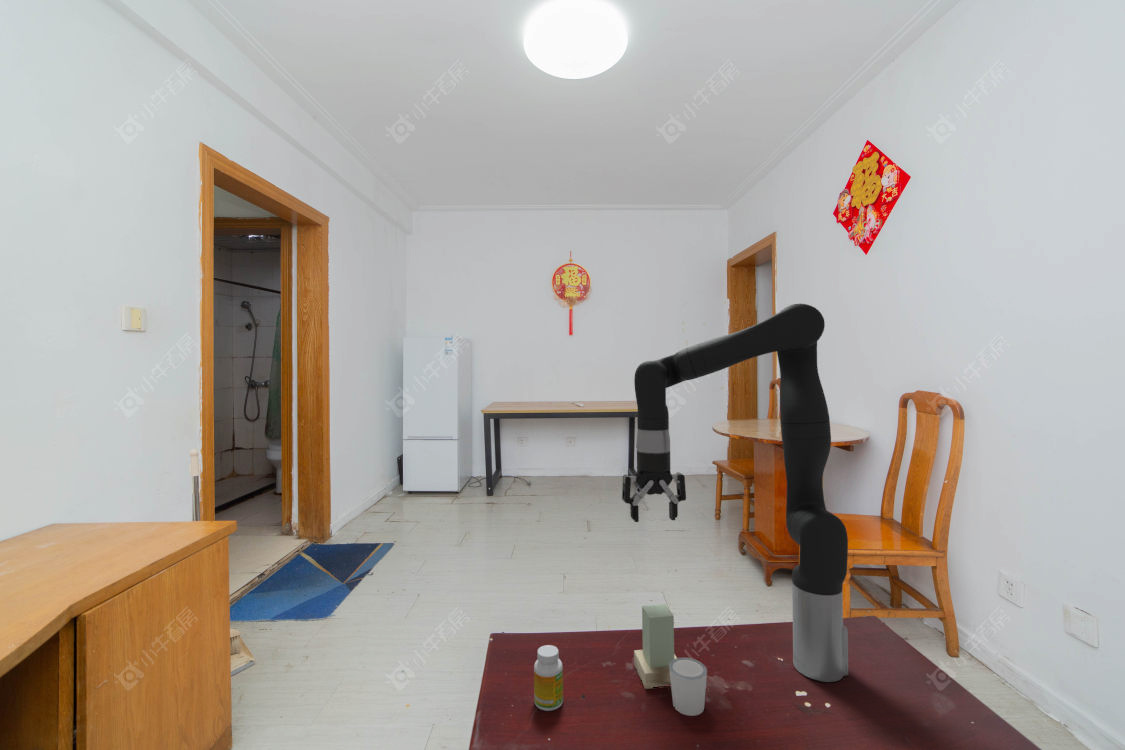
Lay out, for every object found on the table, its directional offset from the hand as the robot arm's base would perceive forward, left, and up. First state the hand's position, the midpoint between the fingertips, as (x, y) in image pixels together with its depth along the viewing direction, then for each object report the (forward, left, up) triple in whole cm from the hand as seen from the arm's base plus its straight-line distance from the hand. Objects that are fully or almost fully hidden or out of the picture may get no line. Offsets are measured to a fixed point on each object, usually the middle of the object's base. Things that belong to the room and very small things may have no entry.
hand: (654, 520), depth 111 cm
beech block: (+3, +11, -28) cm, 30 cm away
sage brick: (+3, +11, -25) cm, 28 cm away
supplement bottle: (+26, +16, -28) cm, 42 cm away
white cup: (0, +21, -28) cm, 35 cm away
